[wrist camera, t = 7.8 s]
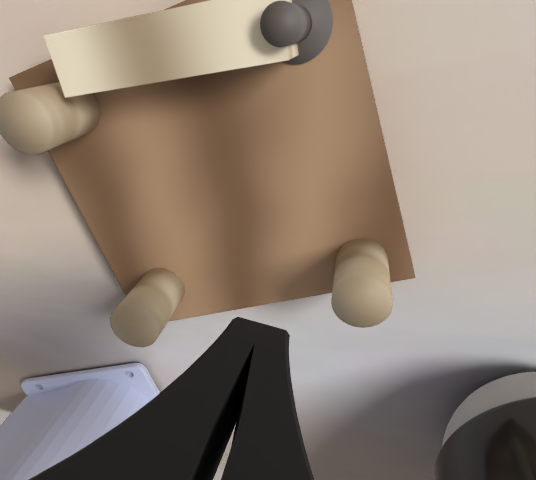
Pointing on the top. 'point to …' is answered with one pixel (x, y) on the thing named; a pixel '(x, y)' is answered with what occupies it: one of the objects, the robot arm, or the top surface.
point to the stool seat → (230, 181)
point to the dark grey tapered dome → (492, 433)
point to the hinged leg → (177, 44)
